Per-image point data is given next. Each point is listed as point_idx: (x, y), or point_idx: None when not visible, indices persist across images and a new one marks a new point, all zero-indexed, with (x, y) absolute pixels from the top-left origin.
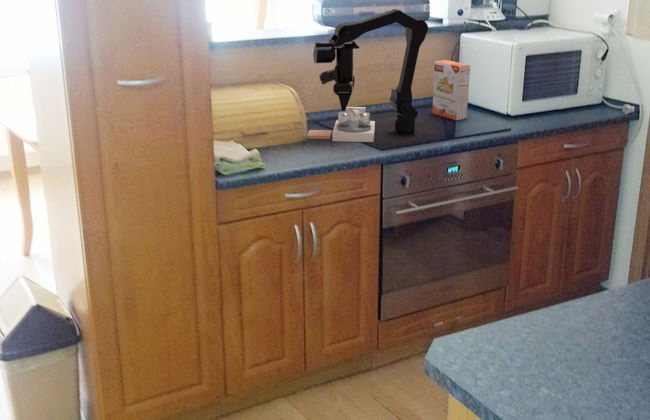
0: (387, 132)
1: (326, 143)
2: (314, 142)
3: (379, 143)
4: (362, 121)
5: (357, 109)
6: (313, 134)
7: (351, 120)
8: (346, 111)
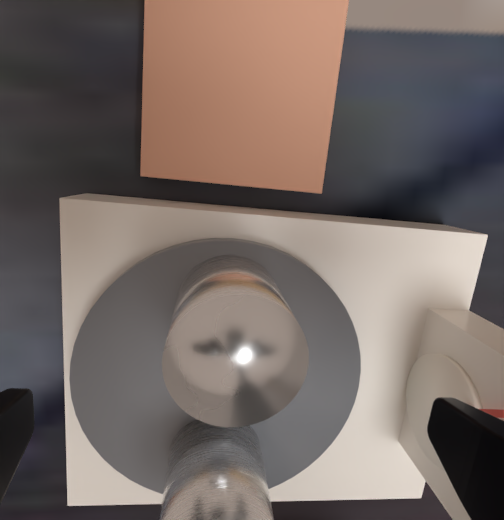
0: (317, 516)
1: (11, 145)
2: (28, 40)
3: (62, 487)
4: (165, 487)
5: None
6: (191, 26)
7: (419, 357)
8: (490, 356)
